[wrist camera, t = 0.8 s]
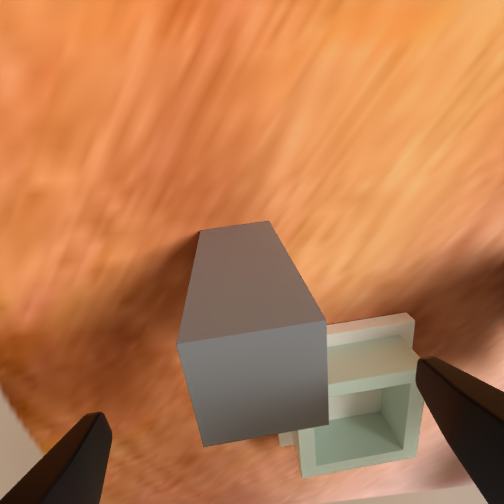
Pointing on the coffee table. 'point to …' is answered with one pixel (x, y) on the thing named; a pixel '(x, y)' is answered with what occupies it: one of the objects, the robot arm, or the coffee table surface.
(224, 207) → the coffee table surface
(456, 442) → the robot arm
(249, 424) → the peg
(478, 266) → the coffee table surface
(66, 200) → the coffee table surface
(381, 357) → the socket block
